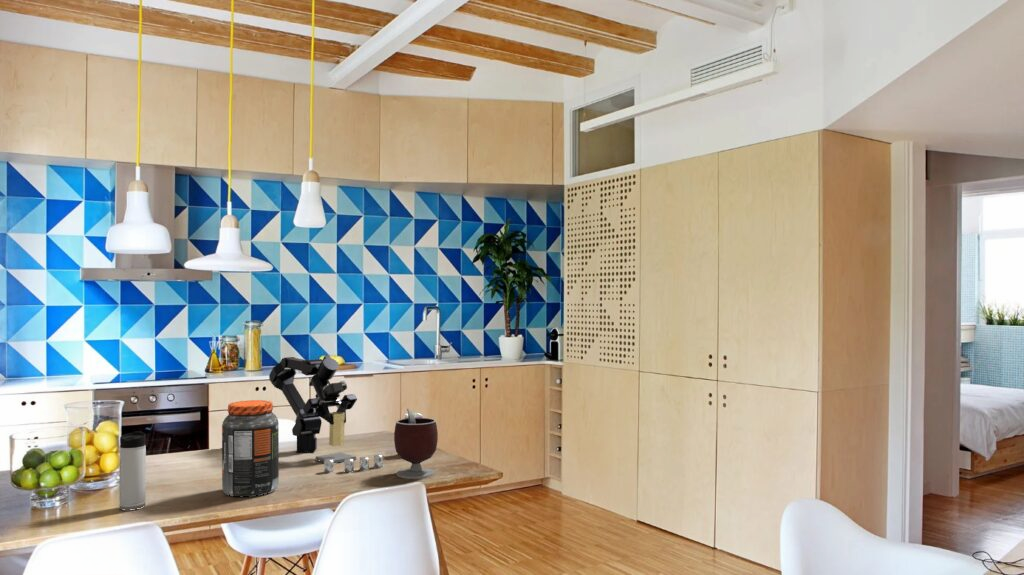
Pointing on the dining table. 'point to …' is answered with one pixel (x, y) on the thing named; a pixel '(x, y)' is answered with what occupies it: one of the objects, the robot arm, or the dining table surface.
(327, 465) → the cylinder
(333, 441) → the tan faceted block
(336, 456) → the coaster
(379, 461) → the cylinder
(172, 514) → the dining table surface
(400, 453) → the mate gourd
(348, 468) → the cylinder
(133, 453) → the travel mug
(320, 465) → the dining table surface
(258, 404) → the supplement tub
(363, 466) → the cylinder
